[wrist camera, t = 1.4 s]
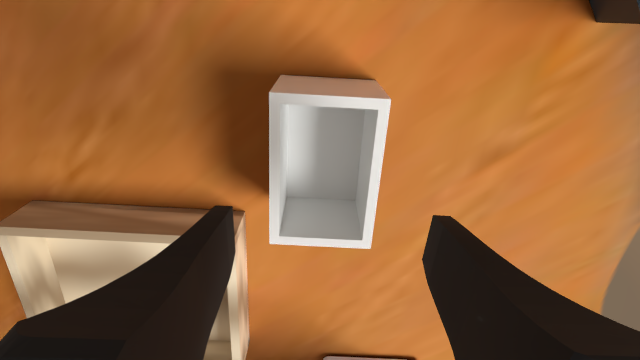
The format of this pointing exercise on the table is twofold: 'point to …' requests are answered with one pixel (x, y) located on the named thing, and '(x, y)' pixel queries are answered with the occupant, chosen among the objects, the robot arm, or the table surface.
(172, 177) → the table surface
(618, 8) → the watch
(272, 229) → the small crate
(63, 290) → the shallow wooden tray
